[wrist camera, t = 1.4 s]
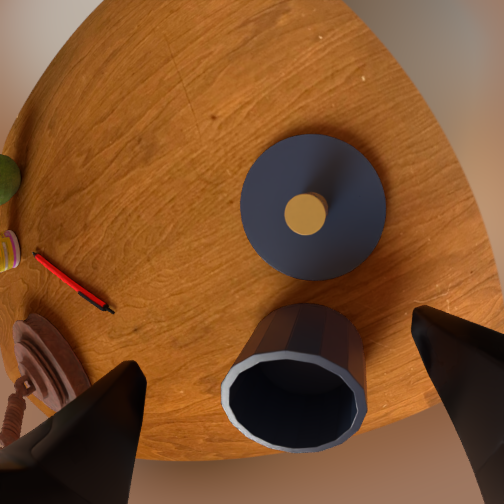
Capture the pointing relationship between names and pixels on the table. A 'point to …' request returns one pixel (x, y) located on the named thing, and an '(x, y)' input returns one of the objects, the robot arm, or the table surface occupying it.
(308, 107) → the table surface
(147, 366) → the table surface
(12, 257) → the supplement bottle
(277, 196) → the canister lid
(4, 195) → the fruit
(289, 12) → the table surface
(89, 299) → the pen
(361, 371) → the canister
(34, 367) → the desk lamp
